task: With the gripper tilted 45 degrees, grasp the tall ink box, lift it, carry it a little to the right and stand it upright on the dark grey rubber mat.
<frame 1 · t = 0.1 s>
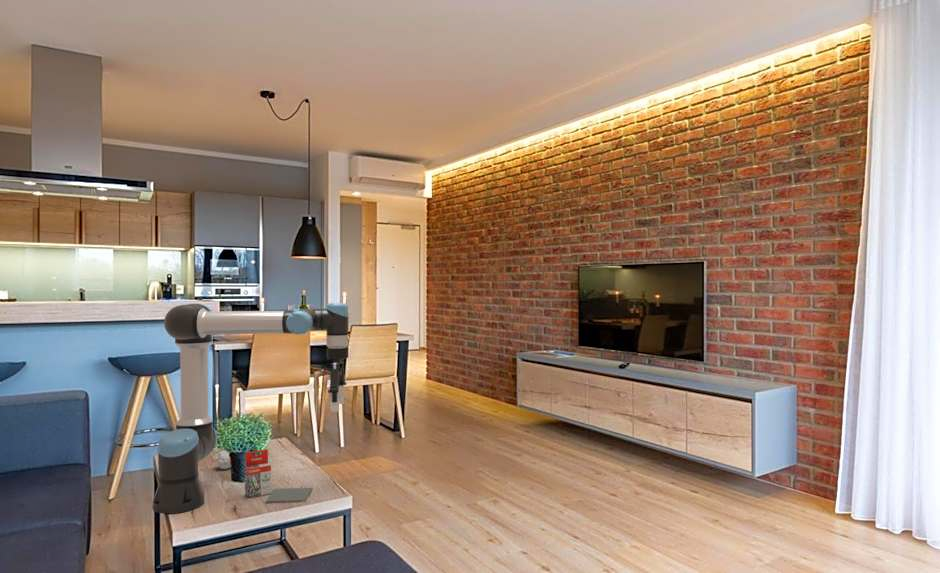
hand: (337, 407, 212), 28 cm above the table, tool pointing down, fingers open, 13 cm apart
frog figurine: (224, 469, 234), on the table
ink box: (258, 495, 205), on the table
mat: (289, 496, 203), on the table
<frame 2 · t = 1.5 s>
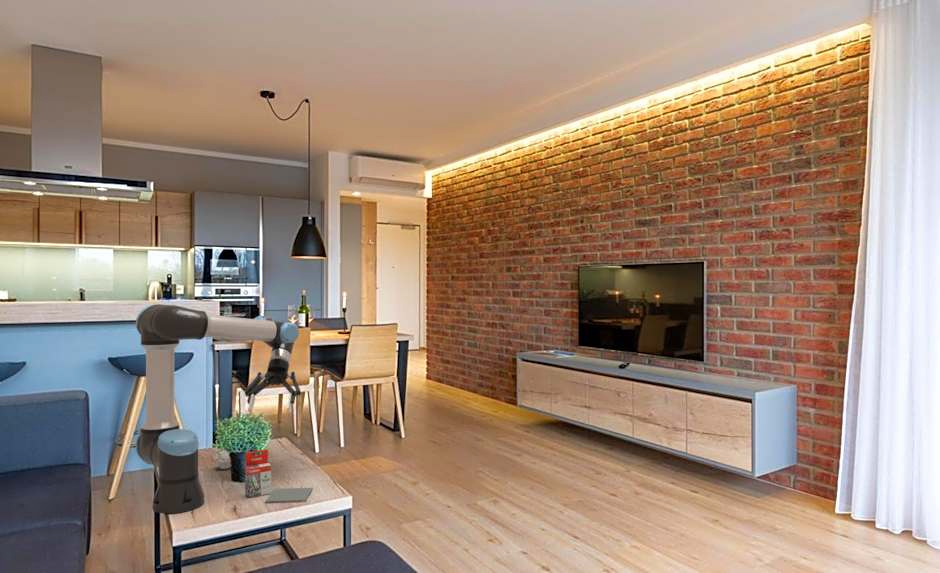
hand: (268, 410, 218), 26 cm above the table, tool tilted 45°, fingers open, 13 cm apart
nothing on the table moved.
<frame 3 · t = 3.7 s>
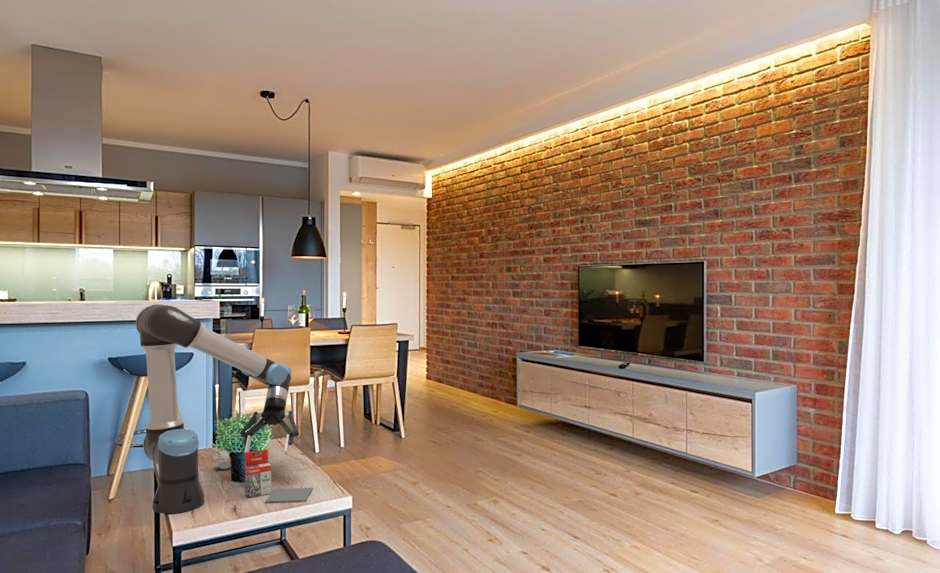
hand: (266, 453, 211), 12 cm above the table, tool tilted 45°, fingers open, 13 cm apart
nothing on the table moved.
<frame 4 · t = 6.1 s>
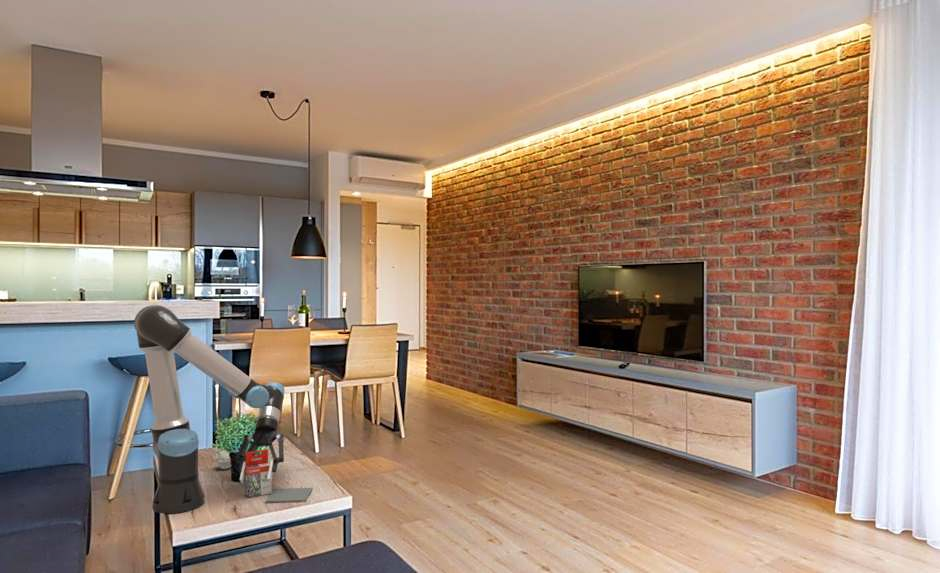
hand: (255, 480, 202), 6 cm above the table, tool tilted 45°, fingers closed on ink box, 8 cm apart
ink box: (258, 495, 205), on the table, touching gripper
everything else where it was.
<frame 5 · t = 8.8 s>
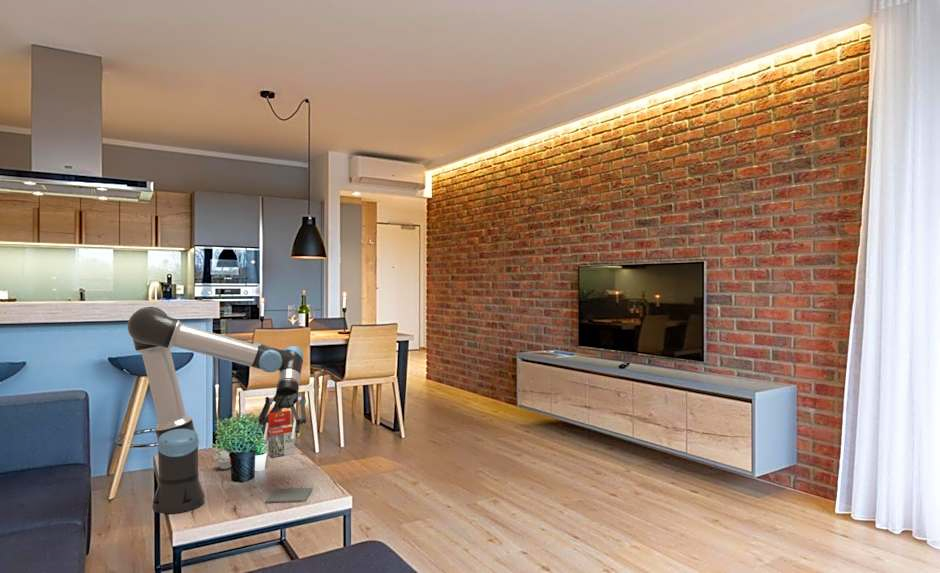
hand: (279, 441, 201), 19 cm above the table, tool tilted 45°, fingers closed on ink box, 8 cm apart
ink box: (281, 456, 205), point 13 cm above the table, touching gripper
everything else where it was.
when the fingers open (7 cm above the table, at t = 11.7 s): ink box drops 1 cm, resting on mat.
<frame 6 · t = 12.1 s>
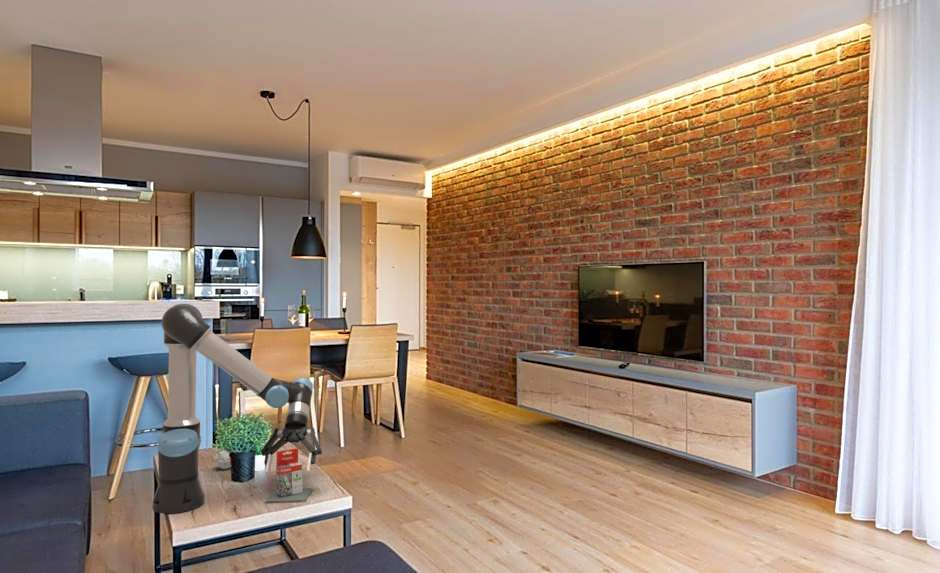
hand: (287, 473, 201), 8 cm above the table, tool tilted 45°, fingers open, 13 cm apart
ink box: (289, 494, 204), resting on mat
everything else where it was.
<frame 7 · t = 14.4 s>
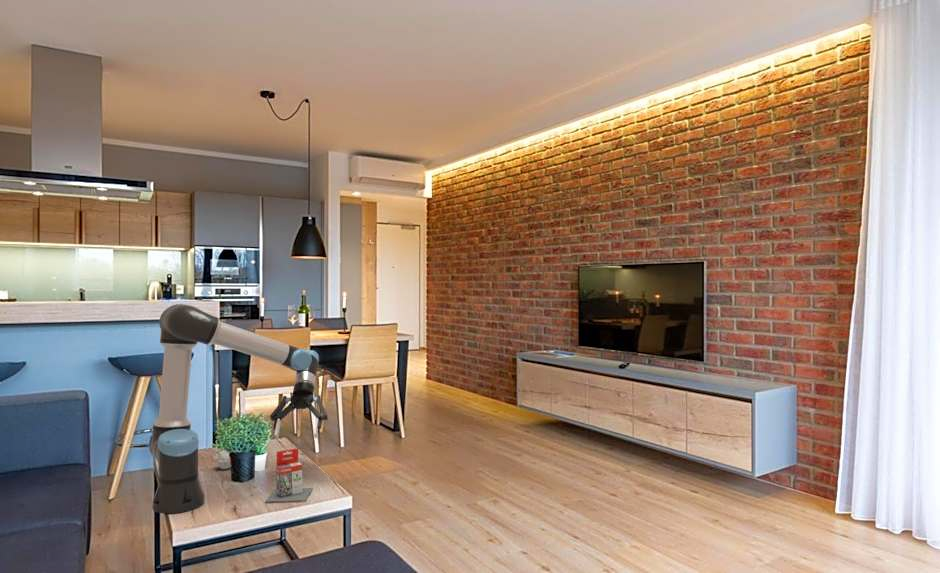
hand: (295, 436, 213), 18 cm above the table, tool tilted 45°, fingers open, 13 cm apart
nothing on the table moved.
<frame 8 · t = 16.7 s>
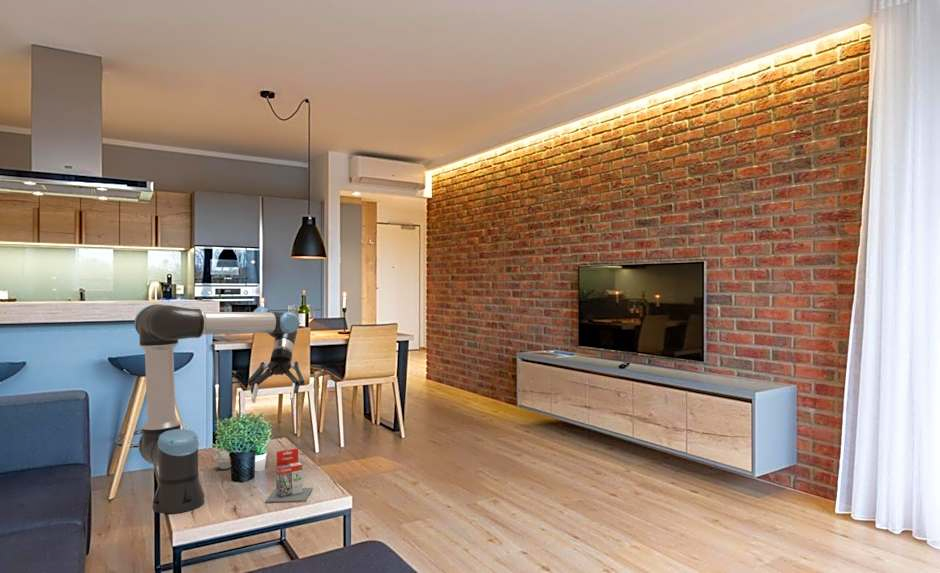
hand: (272, 400, 217), 30 cm above the table, tool tilted 45°, fingers open, 13 cm apart
nothing on the table moved.
at the end: ink box inside the target area on the mat (0.2 cm from its centre), point 0.4 cm above the mat's base; ink box tilted 0°; the gripper is holding nothing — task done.
